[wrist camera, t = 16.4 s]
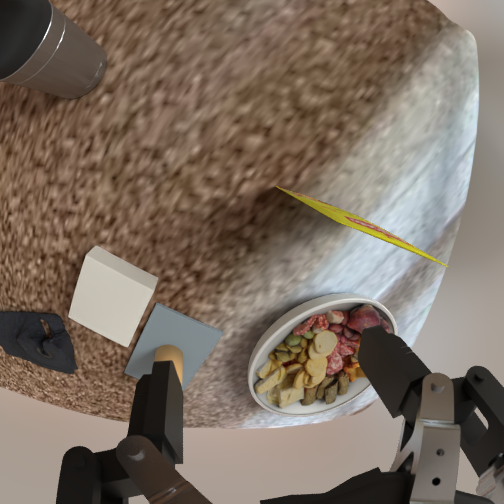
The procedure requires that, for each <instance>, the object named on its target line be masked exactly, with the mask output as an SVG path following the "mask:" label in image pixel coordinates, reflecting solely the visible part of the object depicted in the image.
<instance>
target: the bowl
mask: <svg viewBox="0 0 504 504" xmlns="http://www.w3.org/2000/svg"><path fill="white" fill-rule="evenodd" d="M375 325H381V326H382V327H383V328H384V329H385V330H386V331H387V332H388V333H393V334H395V335H396V336H397V326H396V323H395V320H394V318H393V316H392V315H391V313H390V312H389V311H388V310H387V309H386V308H385V307H384V306H383V305H382V304H380V303H379V302H377V301H376V300H374V299H372V298H369V297H367V296H364V295H359V294H353V293H338V294H330V295H325V296H321V297H318V298H315V299H312V300H310V301H307V302H305V303H303V304H301V305H299V306H297V307H295V308H293V309H292V310H290V311H289V312H287V313H286V314H284V315H283V316H282V317H280V318H279V319H278V320H277V321H275V322H274V323H273V324H272V325H271V326H270V327H269V328H268V329H267V330H266V332H265V333H264V334H263V335H262V337H261V338H260V339H259V341H258V342H257V344H256V346H255V348H254V350H253V352H252V354H251V357H250V360H249V365H248V373H247V376H248V385H249V389H250V392H251V394H252V396H253V398H254V399H255V401H256V402H257V403H258V404H259V405H260V406H261V407H263V408H264V409H266V410H268V411H270V412H272V413H275V414H278V415H282V416H289V417H306V416H313V415H318V414H322V413H325V412H329V411H331V410H334V409H336V408H339V407H341V406H343V405H345V404H347V403H349V402H350V401H352V400H354V399H355V398H357V397H358V396H360V395H361V394H362V393H364V392H365V391H366V390H367V389H368V388H370V387H371V386H372V385H371V383H370V381H369V380H368V378H367V377H366V375H365V374H364V372H363V371H362V369H361V368H360V366H359V363H358V350H359V345H360V340H361V335H362V331H363V329H365V328H368V327H372V326H375Z"/></svg>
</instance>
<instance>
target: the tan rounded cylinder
mask: <svg viewBox="0 0 504 504" xmlns="http://www.w3.org/2000/svg"><path fill="white" fill-rule="evenodd" d="M166 360H172V361H173V363H174V365H175V368H176V371H177V374H178V377H179V380H180V383H181V386H182V375H183V353H182V351H181V350H180V349H179V348H178V347H176V346H173V345H162V346H160V347H158V348H157V350H156V353H155V359H154V361H166Z"/></svg>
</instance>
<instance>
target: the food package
mask: <svg viewBox="0 0 504 504" xmlns="http://www.w3.org/2000/svg"><path fill="white" fill-rule="evenodd" d="M276 187H277V186H276ZM277 188H279V189H280V190H282V191H284V192H286V193H288V194H289V195H291V196H293V197H295V198H296V199H298V200H300V201H302V202H303V203H305V204H307V205H308V206H310V207H312V208H314V209H315V210H317V211H319V212H320V213H322V214H323V215H325V216H327V217H329V218H331V219H332V220H334V221H336V222H338V223H341V224H344V225H346V226H349V227H351V228H354V229H357V230H359V231H362V232H364V233H367V234H369V235H371V236H374V237H376V238H379V239H381V240H383V241H386V242H388V243H391V244H393V245H396V246H398V247H401V248H403V249H406V250H408V251H411V252H413V253H415V254H418V255H420V256H423V257H425V258H427V259H430V260H432V261H435V262H438V263H440V264H442V265H444V266H446V265H445V264H443V263H442V262H440V261H438V260H436V259H435V258H433V257H431V256H430V255H428V254H426V253H425V252H423V251H421V250H420V249H418V248H416V247H414V246H413V245H411V244H409V243H407V242H406V241H404V240H402V239H400V238H399V237H397V236H395V235H393V234H392V233H390V232H388V231H386V230H384V229H382V228H380V227H378V226H376V225H374V224H373V223H371V222H369V221H367V220H365V219H363V218H360V217H358V216H356V215H354V214H352V213H349V212H347V211H344V210H342V209H339V208H337V207H334V206H332V205H329V204H327V203H324V202H321V201H319V200H316V199H313V198H310V197H307V196H305V195H302V194H299V193H296V192H293V191H290V190H286V189H283V188H280V187H277ZM447 267H448V266H447Z"/></svg>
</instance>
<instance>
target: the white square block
mask: <svg viewBox="0 0 504 504" xmlns="http://www.w3.org/2000/svg"><path fill="white" fill-rule="evenodd" d="M157 281H158V278H157V277H155V276H153V275H151V274H149V273H147V272H145V271H143V270H141V269H139V268H138V267H136V266H134V265H132V264H130V263H128V262H126V261H124V260H122V259H120V258H118V257H117V256H115V255H113V254H111V253H109V252H107V251H106V250H104V249H102V248H100V247H98V246H94V247H93V248H92V249H91V250H90V251H89V252H88V253H87V254H86V257H85V260H84V263H83V266H82V269H81V272H80V275H79V279H78V282H77V286H76V289H75V293H74V296H73V300H72V304H71V308H70V312H69V316H68V317H69V318H71V319H73V320H74V321H76V322H78V323H80V324H82V325H83V326H85V327H87V328H89V329H91V330H93V331H95V332H97V333H99V334H101V335H103V336H105V337H107V338H109V339H111V340H113V341H115V342H117V343H119V344H121V345H123V346H125V347H128V346H129V344H130V341H131V339H132V337H133V335H134V332H135V330H136V328H137V326H138V324H139V322H140V319H141V317H142V315H143V313H144V311H145V309H146V307H147V305H148V302H149V300H150V298H151V296H152V294H153V292H154V290H155V287H156V284H157Z"/></svg>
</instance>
